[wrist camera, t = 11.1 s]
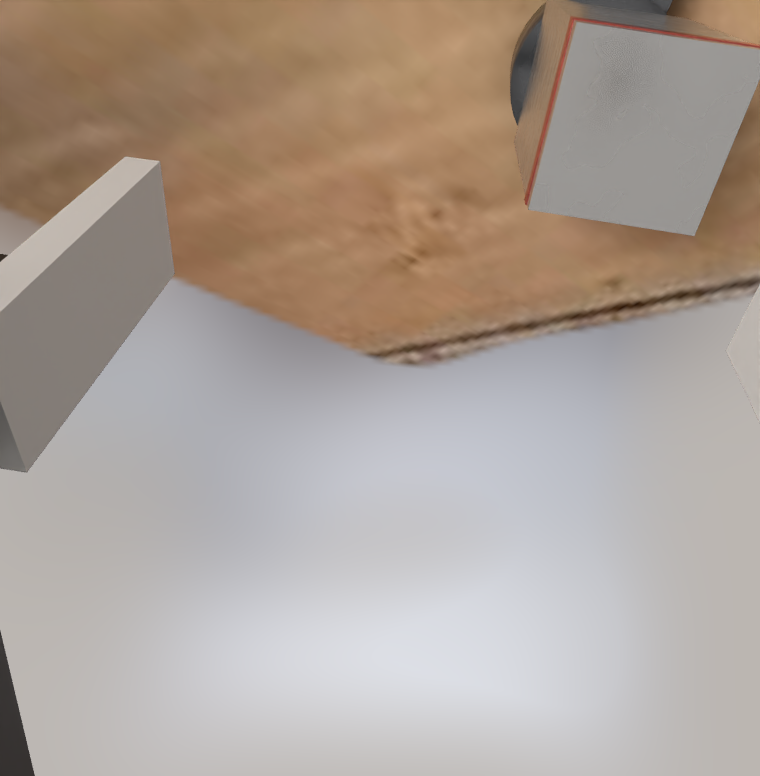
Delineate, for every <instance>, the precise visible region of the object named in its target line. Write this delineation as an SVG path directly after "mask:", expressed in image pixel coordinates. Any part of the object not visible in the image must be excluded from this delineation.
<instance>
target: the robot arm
mask: <svg viewBox="0 0 760 776" xmlns="http://www.w3.org/2000/svg"><path fill="white" fill-rule="evenodd" d="M174 274H175V273H174V265H173V258H172V250H171V242H170V235H169V227H168V219H167V212H166V204H165V196H164V189H163V181H162V173H161V166H160V161H155V160H147V159H140V158H132V157H124V158H123V159H122V160H121V161H120V162H118V163H117V164H116V165H115V166H114V167H112V168H111V169H110V170H109V171H108V172H106V173H105V174H104V175H103V176H102V177H101V178H99V179H98V180H97V181H96V182H95V183H93V184H92V185H91V186H90V187H89V188H87V189H86V190H85V191H84V192H83V193H82V194H80V195H79V196H78V197H77V198H76V199H74V200H73V201H72V202H71V203H70V204H68V205H67V206H66V207H65V208H64V209H63V210H61V211H60V212H59V213H58V214H57V215H55V216H54V217H53V218H52V219H51V220H49V221H48V222H47V223H46V224H45V225H44V226H42V227H41V228H40V229H39V230H38V231H36V232H35V233H34V234H33V235H32V236H30V237H29V238H28V239H27V240H26V241H25V242H23V243H22V244H21V245H20V246H19V247H17V248H16V249H15V250H14V251H13V252H11V253H10V254H9V255H3V254H0V468H1V469H9V470H15V471H21V472H28V470H29V469H30V468H31V466H32V465H33V463H34V462H35V461H36V460H37V458H38V457H39V455H40V454H41V453H42V451H43V450H44V449H45V447H46V446H47V445H48V443H49V442H50V441H51V439H52V438H53V437H54V435H55V434H56V432H57V431H58V430H59V429H60V427H61V426H62V425H63V423H64V422H65V420H66V419H67V418H68V416H69V415H70V414H71V412H72V411H73V410H74V408H75V407H76V406H77V404H78V403H79V402H80V400H81V399H82V398H83V396H84V395H85V393H86V392H87V391H88V389H89V388H90V387H91V386H92V384H93V383H94V381H95V380H96V379H97V377H98V376H99V375H100V373H101V372H102V371H103V369H104V368H105V366H106V365H107V364H108V363H109V361H110V360H111V359H112V357H113V356H114V354H115V353H116V352H117V350H118V349H119V348H120V347H121V345H122V344H123V342H124V341H125V340H126V338H127V337H128V336H129V334H130V333H131V332H132V330H133V329H134V328H135V326H136V325H137V323H138V322H139V321H140V319H141V318H142V317H143V316H144V314H145V313H146V311H147V310H148V309H149V307H150V306H151V305H152V303H153V302H154V301H155V299H156V298H157V297H158V295H159V294H160V293H161V291H162V290H163V289H164V287H165V286H166V285H167V283H168V282H169V281H170V279H171V278H172V277H173V275H174ZM726 352H727V354H728V357H729V359H730V361H731V363H732V365H733V367H734V369H735V371H736V374H737V376H738V378H739V380H740V382H741V384H742V386H743V389H744V391H745V393H746V395H747V397H748V399H749V401H750V403H751V406H752V408H753V410H754V411H755V414H756V416H757V418H758V420H759V423H760V285H759V287H758V289H757V291H756V293H755V295H754V296H753V298H752V300H751V302H750V304H749V306H748V308H747V310H746V312H745V314H744V316H743V318H742V320H741V322H740V324H739V326H738V328H737V330H736V332H735V333H734V335H733V337H732V339H731V341H730V343H729V345H728V347H727V349H726ZM0 776H35V775H34V771H33V767H32V763H31V758H30V754H29V750H28V746H27V741H26V737H25V733H24V729H23V725H22V720H21V716H20V712H19V708H18V704H17V700H16V695H15V691H14V687H13V682H12V678H11V674H10V670H9V665H8V661H7V657H6V653H5V649H4V644H3V640H2V636H1V632H0Z"/></svg>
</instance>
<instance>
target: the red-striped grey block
mask: <svg viewBox="0 0 760 776" xmlns="http://www.w3.org/2000/svg"><path fill="white" fill-rule="evenodd" d="M759 80H760V45H759V44H752V43H749V42H746V41H744V40H741V39H739V38H736V37H734V36H731V35H729V34H726V33H724V32H721V31H719V30H716V29H714V28H711V27H709V26H706V25H704V24H701V23H699V22H696V21H694V20H691V19H689V18H682V17H675V16H669V15H662V14H655V13H649V12H642V11H636V10H629V9H622V8H616V7H609V6H603V5H596V4H589V3H583V2H576V1H570V0H547V2H546V6H545V11H544V15H543V19H542V24H541V28H540V32H539V37H538V41H537V45H536V50H535V54H534V58H533V63H532V67H531V71H530V76H529V80H528V84H527V89H526V93H525V97H524V101H523V106H522V110H521V114H520V119H519V123H518V127H517V132H516V136H515V140H514V144H515V149H516V153H517V158H518V163H519V168H520V173H521V177H522V182H523V187H524V192H525V199H524V200H525V205H527V206H528V210H533V211H540V212H546V213H552V214H559V215H565V216H571V217H578V218H584V219H590V220H596V221H603V222H609V223H615V224H622V225H628V226H634V227H641V228H647V229H653V230H660V231H666V232H672V233H679V234H685V235H691V236H695V233H696V231H697V228H698V226H699V224H700V221H701V219H702V216H703V214H704V212H705V209H706V207H707V204H708V202H709V200H710V197H711V195H712V192H713V190H714V188H715V185H716V183H717V180H718V178H719V176H720V173H721V171H722V168H723V166H724V164H725V161H726V159H727V156H728V154H729V152H730V149H731V147H732V145H733V142H734V140H735V137H736V135H737V133H738V130H739V128H740V125H741V123H742V121H743V118H744V116H745V113H746V111H747V109H748V106H749V104H750V101H751V99H752V97H753V94H754V92H755V89H756V87H757V85H758V82H759Z"/></svg>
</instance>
